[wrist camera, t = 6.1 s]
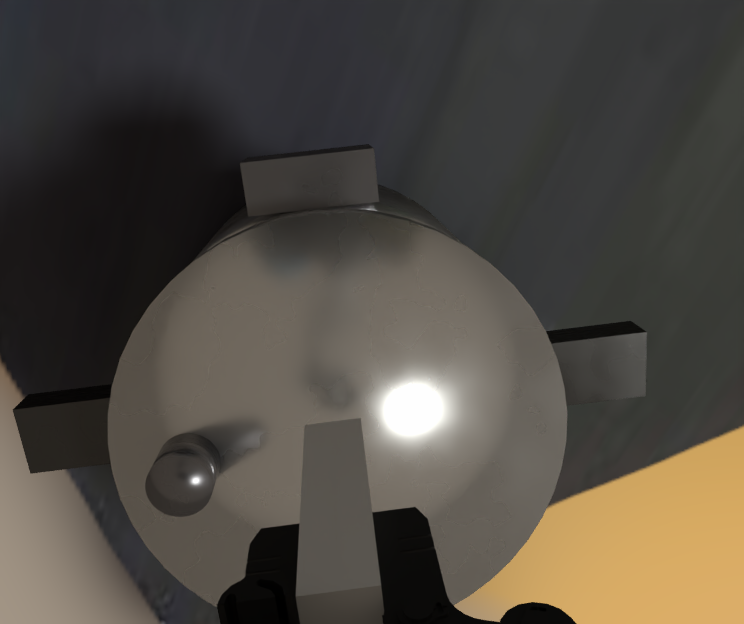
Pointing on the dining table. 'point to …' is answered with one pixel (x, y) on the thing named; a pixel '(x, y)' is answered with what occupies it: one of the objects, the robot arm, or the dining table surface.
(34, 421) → the steel pot
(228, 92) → the dining table surface
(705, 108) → the dining table surface
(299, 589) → the robot arm
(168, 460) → the pot lid
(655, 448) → the dining table surface
